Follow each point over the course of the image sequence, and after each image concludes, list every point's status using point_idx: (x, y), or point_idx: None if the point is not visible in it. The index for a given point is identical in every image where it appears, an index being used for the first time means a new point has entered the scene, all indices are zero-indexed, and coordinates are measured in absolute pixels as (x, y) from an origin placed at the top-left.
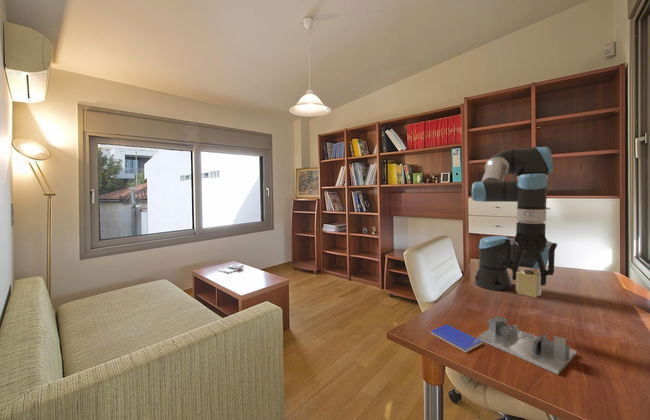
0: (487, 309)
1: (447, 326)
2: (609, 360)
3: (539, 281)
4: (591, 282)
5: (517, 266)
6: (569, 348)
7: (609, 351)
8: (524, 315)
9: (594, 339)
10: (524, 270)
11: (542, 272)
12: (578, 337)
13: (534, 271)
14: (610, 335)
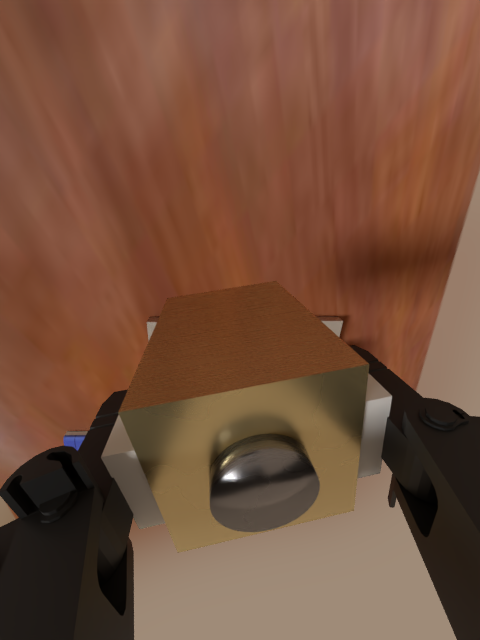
0: (24, 205)
1: (75, 447)
2: (396, 283)
3: None
4: None
5: (129, 638)
6: (330, 322)
7: (404, 228)
8: (156, 134)
9: (380, 169)
10: (180, 433)
11: (428, 513)
12: (341, 197)
13: (300, 378)
14: (430, 73)
